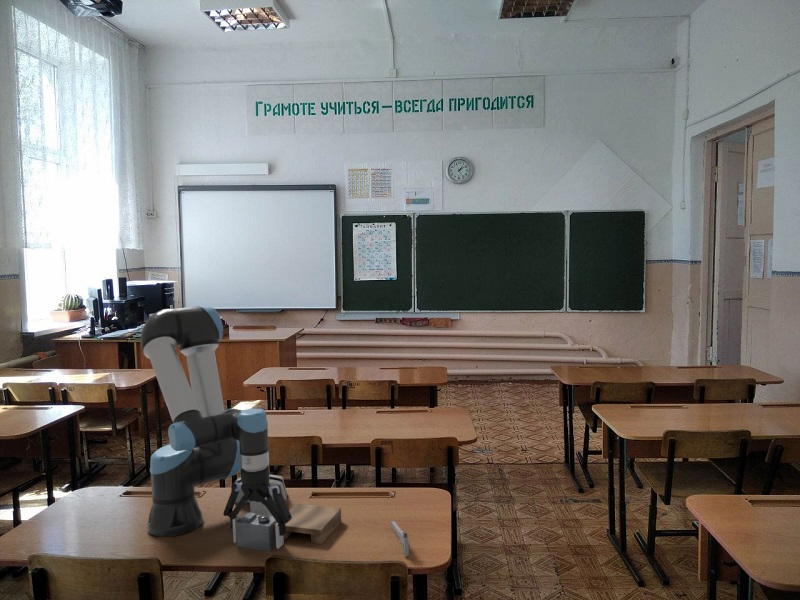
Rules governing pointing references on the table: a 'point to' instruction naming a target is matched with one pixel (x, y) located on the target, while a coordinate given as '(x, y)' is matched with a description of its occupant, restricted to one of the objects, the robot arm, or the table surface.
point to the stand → (313, 521)
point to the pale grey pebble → (259, 508)
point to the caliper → (401, 538)
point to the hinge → (273, 482)
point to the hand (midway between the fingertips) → (258, 543)
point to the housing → (256, 531)
